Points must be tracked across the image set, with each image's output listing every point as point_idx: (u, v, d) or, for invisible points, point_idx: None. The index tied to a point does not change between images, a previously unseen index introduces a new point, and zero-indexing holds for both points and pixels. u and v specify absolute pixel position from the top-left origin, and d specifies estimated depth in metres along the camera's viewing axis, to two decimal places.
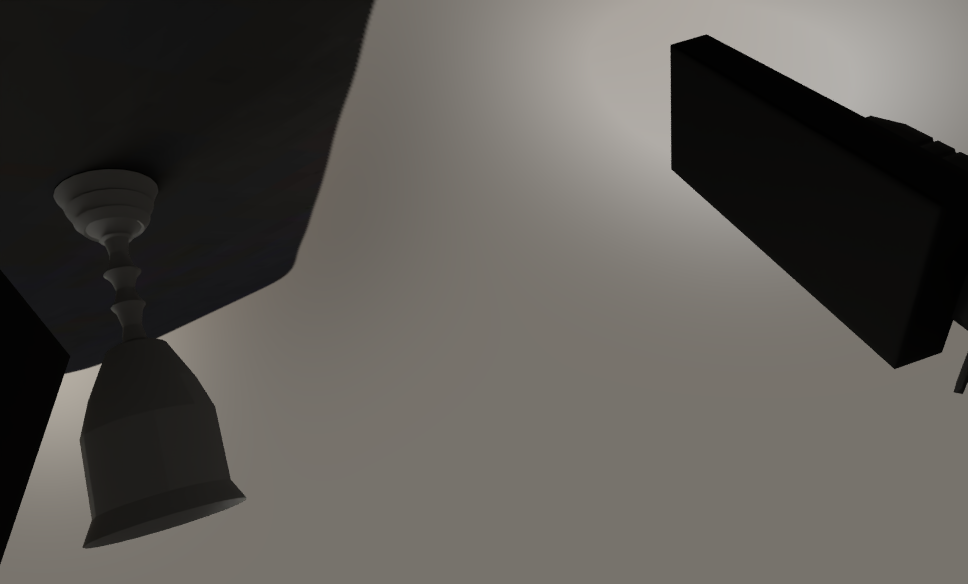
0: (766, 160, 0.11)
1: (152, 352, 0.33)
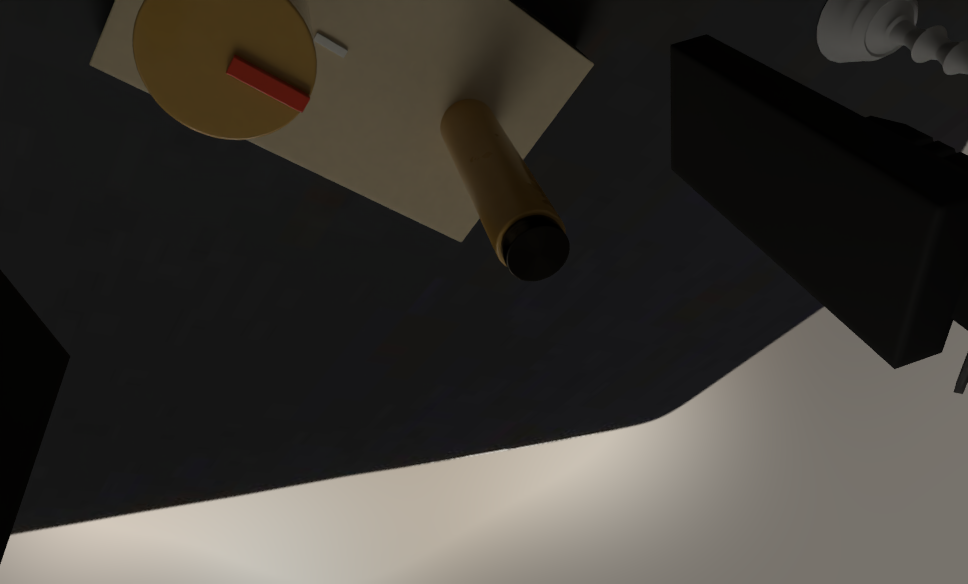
0: (766, 160, 0.11)
1: None
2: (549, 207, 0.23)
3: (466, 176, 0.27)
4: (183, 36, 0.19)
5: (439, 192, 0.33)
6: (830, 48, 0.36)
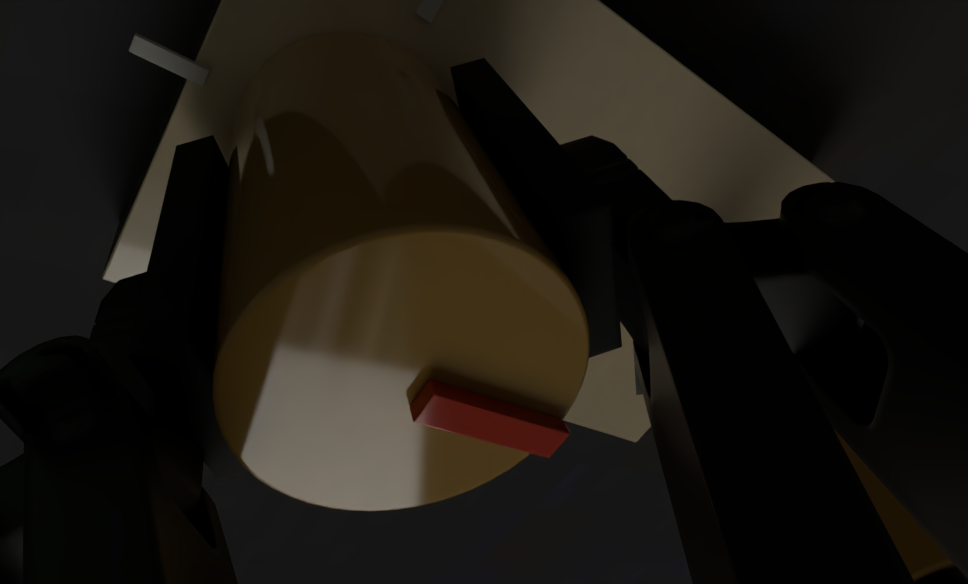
0: None
1: None
2: None
3: None
4: (326, 364, 0.08)
5: (617, 386, 0.22)
6: None
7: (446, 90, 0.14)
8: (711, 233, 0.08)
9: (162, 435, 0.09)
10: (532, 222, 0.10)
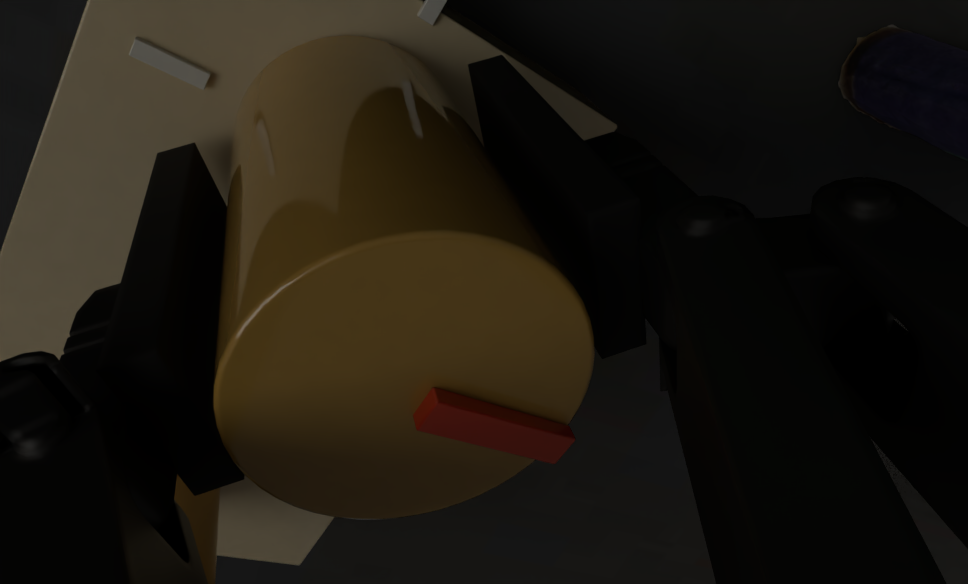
0: (521, 171, 0.12)
1: None
2: None
3: None
4: (327, 373, 0.08)
5: None
6: None
7: (447, 92, 0.14)
8: (742, 229, 0.08)
9: (132, 449, 0.08)
10: (535, 226, 0.09)
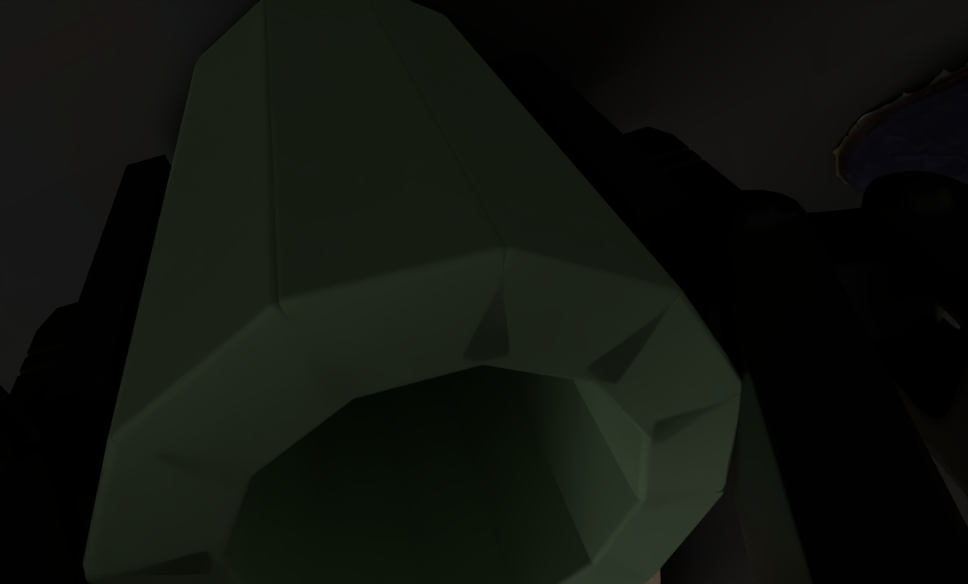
0: None
1: None
2: None
3: None
4: None
5: None
6: None
7: None
8: (793, 225, 0.08)
9: (82, 475, 0.08)
10: None
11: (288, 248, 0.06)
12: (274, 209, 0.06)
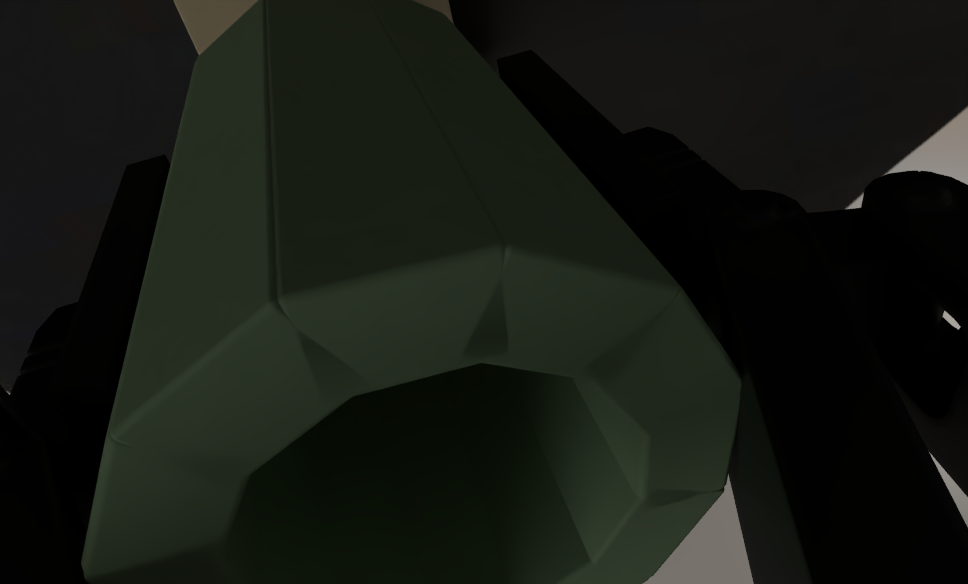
0: None
1: None
2: None
3: None
4: None
5: None
6: None
7: None
8: (793, 225, 0.08)
9: (82, 475, 0.08)
10: None
11: (287, 245, 0.06)
12: (273, 206, 0.06)
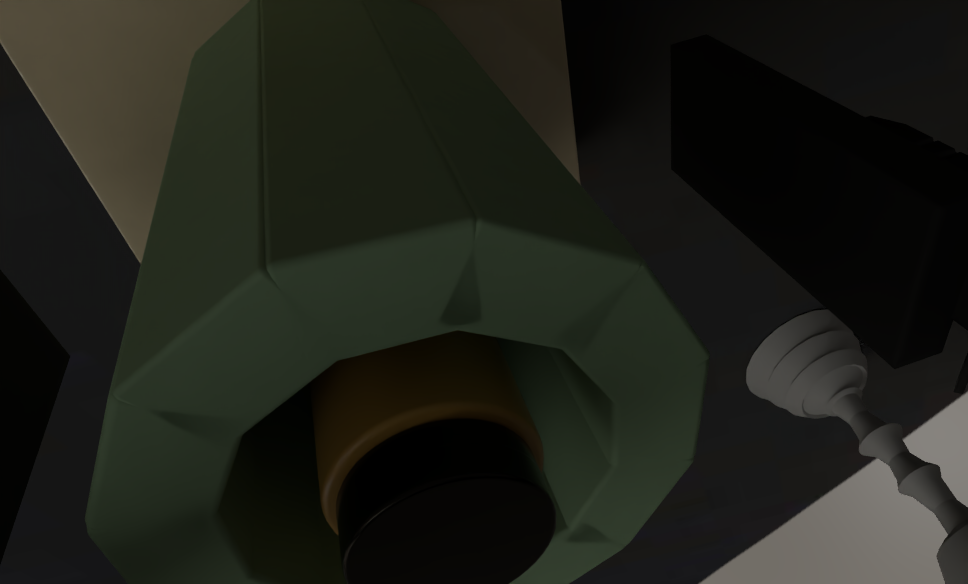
0: (766, 160, 0.11)
1: None
2: None
3: None
4: None
5: None
6: (761, 371, 0.28)
7: None
8: None
9: None
10: None
11: (275, 220, 0.06)
12: (263, 185, 0.07)
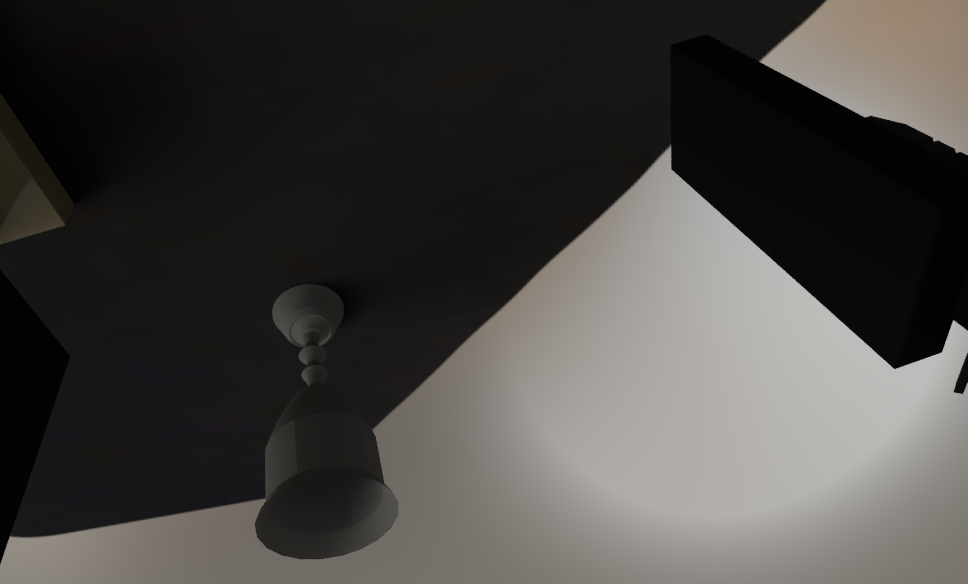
0: (766, 160, 0.11)
1: (344, 397, 0.41)
2: None
3: None
4: None
5: None
6: (277, 320, 0.48)
7: None
8: None
9: None
10: None
11: None
12: None
